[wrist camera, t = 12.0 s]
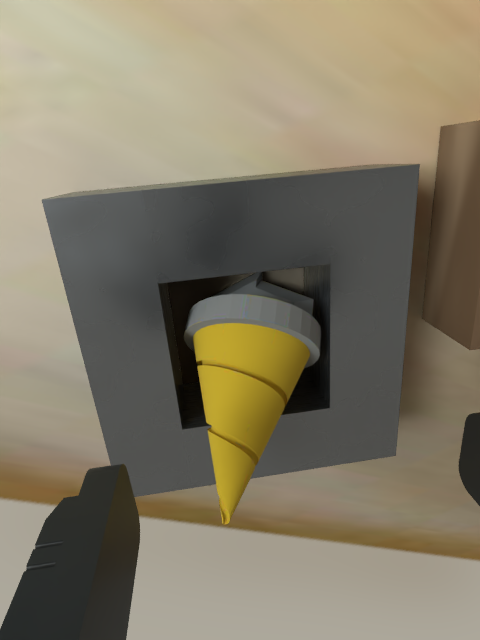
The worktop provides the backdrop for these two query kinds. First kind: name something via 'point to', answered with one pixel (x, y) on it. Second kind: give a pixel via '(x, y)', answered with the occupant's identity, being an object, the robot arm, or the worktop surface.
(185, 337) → the drill bit
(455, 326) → the wooden square frame
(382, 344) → the hub plate
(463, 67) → the worktop surface
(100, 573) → the robot arm
